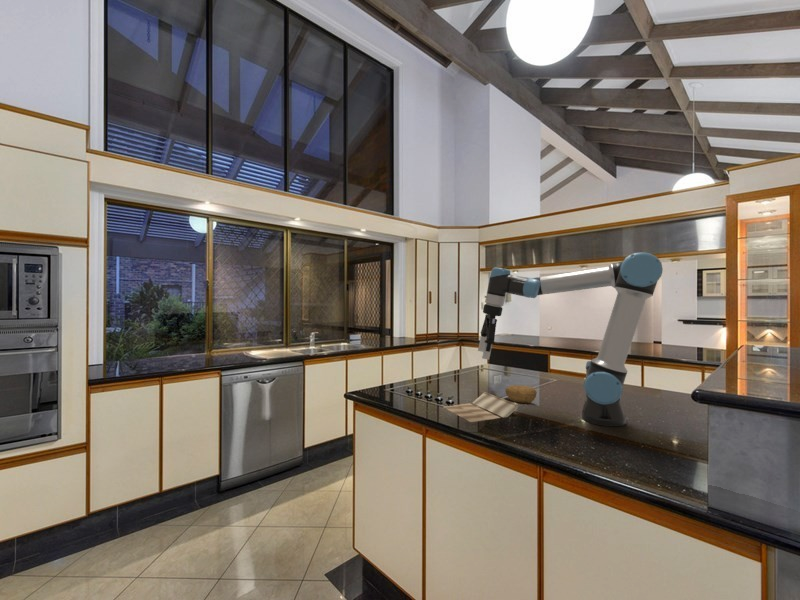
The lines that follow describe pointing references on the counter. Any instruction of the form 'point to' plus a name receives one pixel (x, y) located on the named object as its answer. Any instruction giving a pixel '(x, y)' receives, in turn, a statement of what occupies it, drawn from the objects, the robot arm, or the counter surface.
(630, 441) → the counter surface
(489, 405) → the board
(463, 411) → the laid boards
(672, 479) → the counter surface
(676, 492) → the counter surface
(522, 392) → the potato
